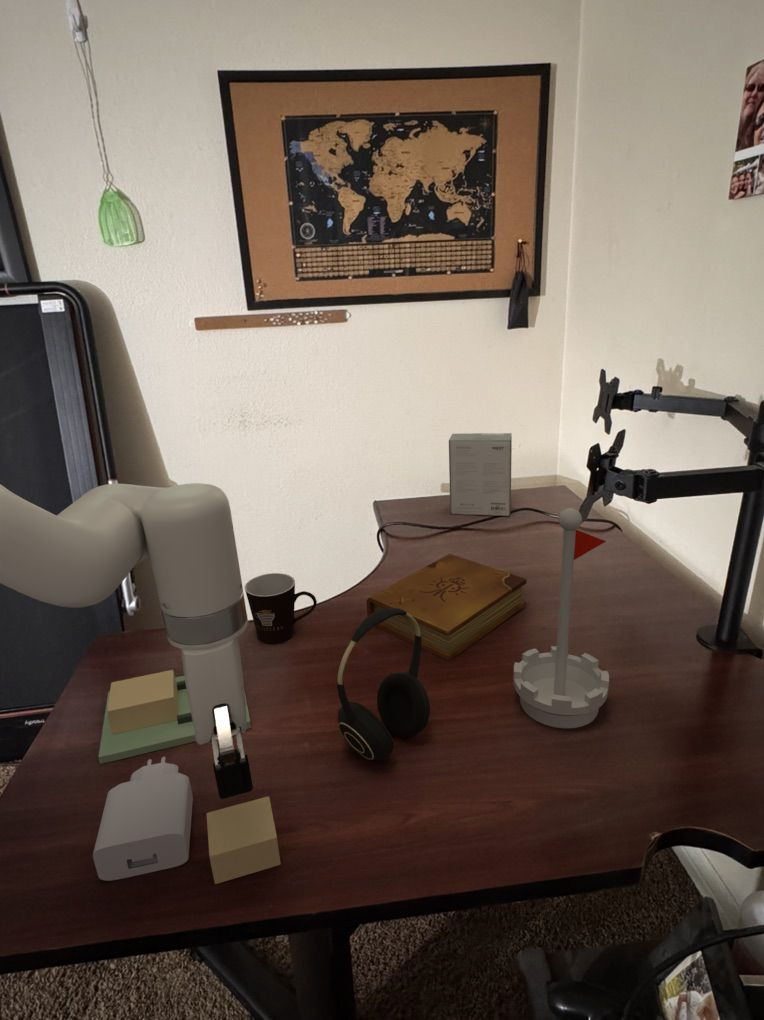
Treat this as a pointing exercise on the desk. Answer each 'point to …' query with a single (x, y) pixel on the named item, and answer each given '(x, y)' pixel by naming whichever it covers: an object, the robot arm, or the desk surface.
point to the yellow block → (242, 840)
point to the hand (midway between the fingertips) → (232, 759)
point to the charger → (145, 823)
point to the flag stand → (563, 654)
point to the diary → (449, 604)
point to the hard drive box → (480, 473)
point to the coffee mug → (274, 606)
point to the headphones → (384, 700)
